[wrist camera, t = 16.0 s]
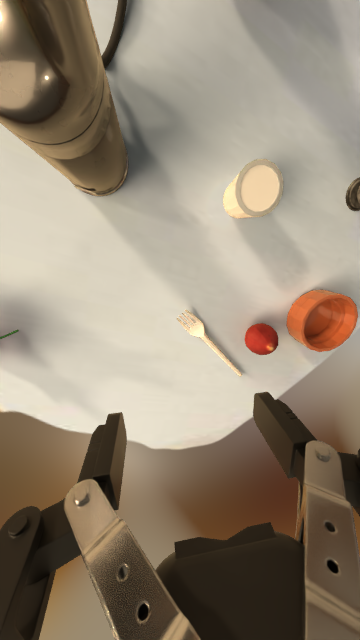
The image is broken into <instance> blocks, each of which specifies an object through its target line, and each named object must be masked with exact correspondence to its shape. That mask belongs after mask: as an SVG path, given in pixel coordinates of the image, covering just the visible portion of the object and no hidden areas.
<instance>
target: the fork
mask: <svg viewBox="0 0 360 640" xmlns="http://www.w3.org/2000/svg"><path fill="white" fill-rule="evenodd" d="M185 311H186V312H187V313H188V314H189V315H190V316H191V317H192V318H193V319H194V320H195V321H196V323H195V322H193V321H192V320H191V319H190V318H189V317H188V316H187V315H185V314H184V313H182V314H183V315H184V316H185V317H186V318H187V319H188V320H189V321H190V322H191V323H192V324H193V325H191V324H190V323H189V322H188V321H187V320H186V319H184V318H183V317H182V316H181V315H179V317H181V318H182V319H183V320H184V321H185V322H186V323H187V324H188V325H189V326H190V328H189V327H188V326H187V325H186V324H185V323H183V322H182V321H181V320H180V319H178V318H177V320H178V321H179V322H180V323H181V325H182V326H183V327H184V328H185V329H186V330H187V331H188V332H189V333H190V334H191V335H193V336H195V337H200V338H201V339H203V340H204V341H205V342H206V343H207V344H208V345H209V346H210V347H211V348H212V349H213V350H214V351H215V352H216V353H217V354H218V355H219V356H220V357H221V358H222V359H223V360H224V361H225V362H226V363H227V364H228V365H229V366H230V367H231V368H232V369H233V370H234V371H235V372H236V373H237V374H238V375H239V376H240V377H241V376H242V374H241V373H240V372H239V370H238V369H237V368H236V367H235V366H234V365H233V364H232V363H231V362H230V361H229V360H228V358H227V357H226V356H225V355H224V354H223V353H222V352H221V351H220V350H219V349H218V348H217V346H216V345H215V344H214V343H213V342H212V341H211V340H210V339H209V338H208V337H207V336H206V334H205V331H204V325H203V323H202V322H201V321H200V320H199V319H198V318H197V317H196V316H195V315H193V314H192V313H191V312H189V311H187V310H185Z"/></svg>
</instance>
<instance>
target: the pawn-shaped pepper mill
mask: <svg viewBox="0 0 360 640" xmlns="http://www.w3.org/2000/svg"><path fill="white" fill-rule="evenodd" d="M346 203H347V206H348V207H349V208H350V209H351V210H354V211H359V210H360V178H357V179H356V180H354V181H353V182H352V183H351V184H350V186H349V188H348V190H347V193H346Z"/></svg>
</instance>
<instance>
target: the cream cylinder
mask: <svg viewBox="0 0 360 640" xmlns="http://www.w3.org/2000/svg"><path fill="white" fill-rule="evenodd" d="M282 192H283V179H282V175H281V172H280V170H279V169H278V168H277V166H276V165H275V164H274V163H272V162H270V161H268V160H267V159H256V160H254V161H252V162H250V163H248V164H247V165H246V166H245V167H244V168H243V170H242V171H241V172H240V173H239V174H238V176H237V177H236V178H235V179H234V180H233V182H232V183H231V184H230V185H229V186H228V188H227V189H226V191H225V193H224V196H223V205H224V207H225V210H226V212H227V213H228V214H229V215H230V216H232V217H234V218H248V217H260V216H264V215H266V214H268V213H270V212H271V211H272V210H273V209H274V208H275V207H276V206H277V205H278V203H279V201H280V198H281V196H282Z"/></svg>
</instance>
